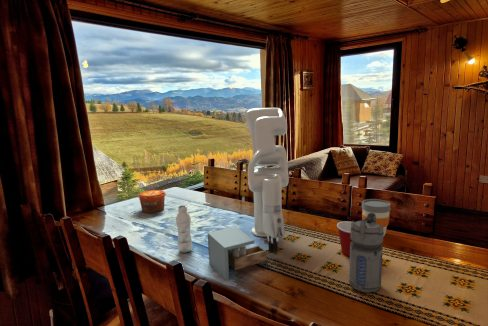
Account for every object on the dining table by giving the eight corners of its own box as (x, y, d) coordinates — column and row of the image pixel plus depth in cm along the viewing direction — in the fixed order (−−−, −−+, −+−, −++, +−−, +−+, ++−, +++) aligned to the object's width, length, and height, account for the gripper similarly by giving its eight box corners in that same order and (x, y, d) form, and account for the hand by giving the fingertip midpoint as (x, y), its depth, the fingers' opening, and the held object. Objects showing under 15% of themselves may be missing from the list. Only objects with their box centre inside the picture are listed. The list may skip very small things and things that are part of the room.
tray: (258, 255, 138) (258, 238, 136) (266, 261, 133) (266, 243, 131) (228, 263, 131) (227, 246, 130) (234, 270, 126) (234, 251, 125)
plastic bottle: (178, 255, 140) (175, 210, 136) (177, 248, 146) (174, 205, 142) (193, 253, 141) (191, 208, 138) (191, 246, 148) (189, 203, 144)
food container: (139, 207, 206) (137, 191, 204) (165, 204, 211) (164, 188, 209) (139, 215, 191) (137, 197, 189) (167, 212, 196) (166, 194, 194)
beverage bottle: (385, 280, 116) (389, 211, 111) (375, 299, 105) (379, 224, 101) (356, 272, 122) (358, 207, 117) (344, 289, 111) (346, 218, 107)
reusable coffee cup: (358, 236, 154) (359, 205, 151) (362, 226, 165) (363, 197, 162) (388, 240, 148) (389, 208, 145) (390, 230, 159) (392, 200, 156)
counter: (236, 255, 138) (234, 226, 136) (255, 271, 124) (254, 240, 122) (209, 262, 133) (207, 232, 131) (226, 280, 119) (224, 247, 117)
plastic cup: (357, 262, 130) (358, 233, 127) (331, 254, 137) (332, 226, 134) (367, 252, 138) (369, 224, 135) (343, 245, 145) (343, 219, 142)
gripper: (290, 211, 129) (291, 255, 131) (270, 202, 142) (270, 243, 144) (274, 214, 125) (275, 260, 128) (254, 205, 138) (255, 247, 141)
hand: (273, 251), depth 136 cm, fingers closed
